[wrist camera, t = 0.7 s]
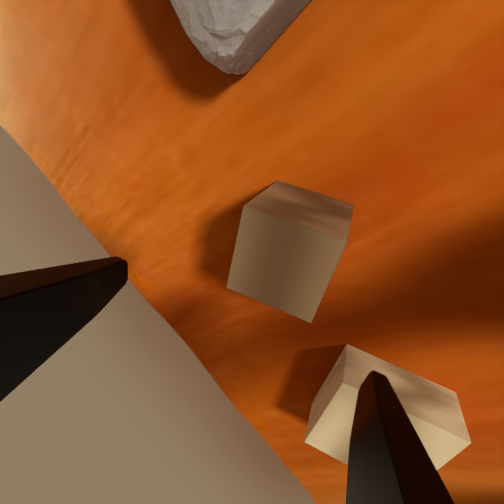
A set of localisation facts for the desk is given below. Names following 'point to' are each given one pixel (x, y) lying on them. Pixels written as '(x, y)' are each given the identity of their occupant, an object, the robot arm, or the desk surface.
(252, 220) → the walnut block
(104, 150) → the desk surface
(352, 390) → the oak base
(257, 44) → the stone block
